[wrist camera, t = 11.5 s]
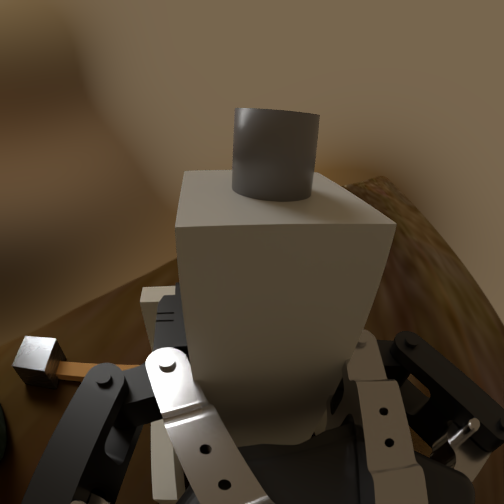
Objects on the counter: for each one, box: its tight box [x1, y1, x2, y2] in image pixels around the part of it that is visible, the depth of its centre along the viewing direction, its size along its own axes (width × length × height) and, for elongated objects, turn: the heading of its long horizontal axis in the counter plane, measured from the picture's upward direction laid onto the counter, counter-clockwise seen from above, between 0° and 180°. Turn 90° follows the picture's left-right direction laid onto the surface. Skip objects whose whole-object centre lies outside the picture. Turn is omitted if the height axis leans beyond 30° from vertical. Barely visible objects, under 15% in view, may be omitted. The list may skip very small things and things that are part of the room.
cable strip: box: [56, 361, 140, 382], centre depth 14 cm, size 10×5×1 cm, turn 101°
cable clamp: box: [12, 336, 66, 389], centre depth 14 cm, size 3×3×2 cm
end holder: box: [140, 286, 327, 504], centre depth 12 cm, size 10×9×7 cm
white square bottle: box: [175, 108, 397, 447], centre depth 9 cm, size 4×4×14 cm
